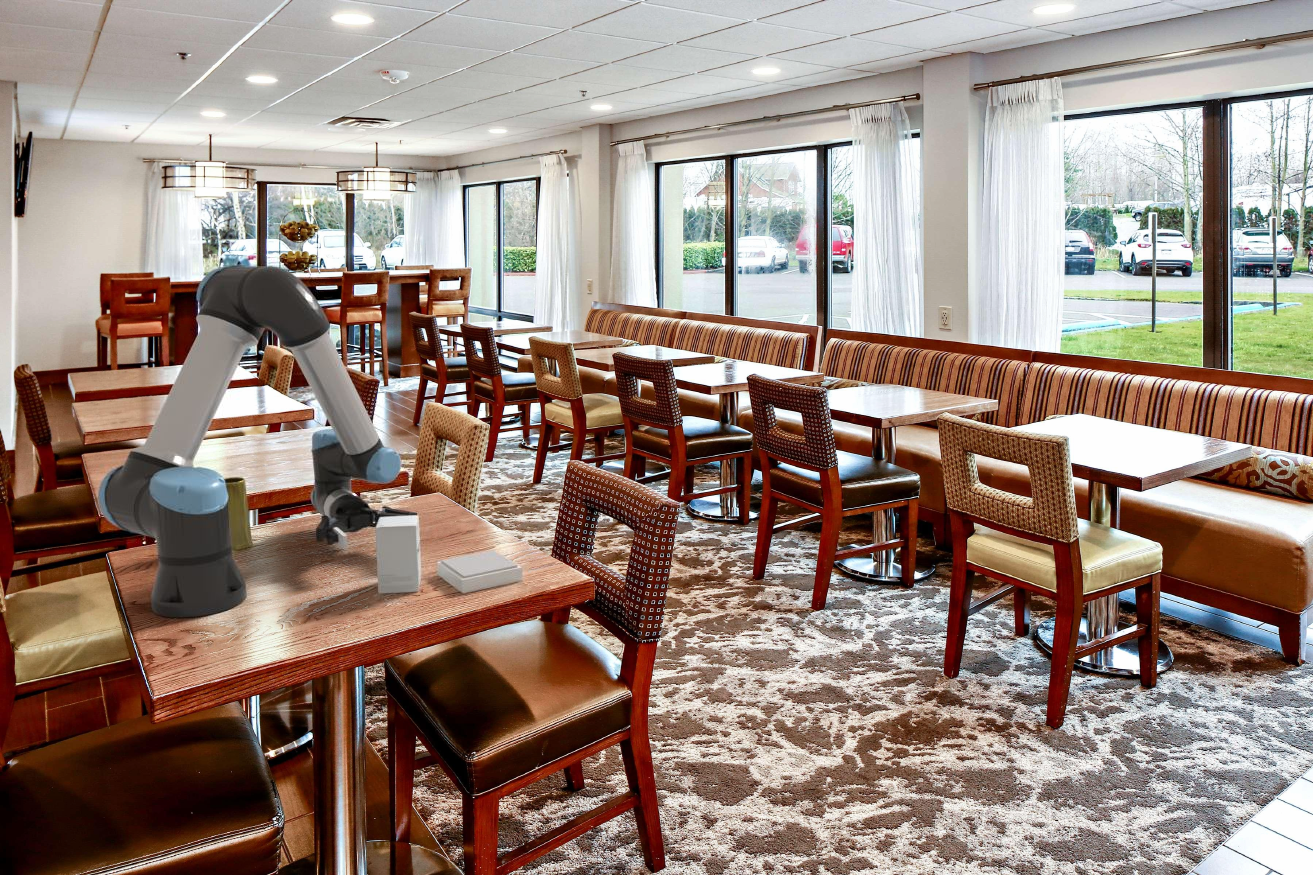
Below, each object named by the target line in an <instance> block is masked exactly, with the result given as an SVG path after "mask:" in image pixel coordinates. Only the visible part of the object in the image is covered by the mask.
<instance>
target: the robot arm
mask: <svg viewBox="0 0 1313 875" xmlns="http://www.w3.org/2000/svg"><path fill="white" fill-rule="evenodd" d="M196 301H198V304H197V307H198V310H199V311H198V313H197V315H196V318H195V319H196V322H197V325H198V326H199V331H198V334H197V336H196V337H195V340H194V342H193V344H192V346H191V347H190V350H189V352H188V354H187V356H186V358H185V360H184V363H183V364H182V366H181V368H180V370H179V372H178V375H177V377H176V378H175V381H174V383H173V385H172V387H171V389H170V391H169V393H168V395H167V397H166V399H165V402H164V403H163V406H162V408H161V410H160V412H159V414H158V415H157V417H156V419H155V422H154V424H153V425H152V428H151V430H150V432H149V434H148V436H147V438H146V440H145V443H144V444H142V445H140V446H138V447H135V448H132V449H130V452H129V453H128V456H127V458H126V459H125V462H124V464H123V465H120V466H118V467H116V468H114V469H112V470H111V471H109V472H108V473H107V474H106V475H105V476H104V478H103V479H102V481H101V483H100V485H99V487H98V492H97V501H98V506H99V509H100V511H101V513H102V516H103V517H104V518H105V519H106V520H107V521H108V522H109V523H111V524H112V525H114V527H117V528H119V529H121V530H123V531H127V532H129V533H131V534H139V535H142V536H146V537H150V538H152V539H155V541H156V549H157V550H156V551H157V557H158V558H157V560H158V568H157V570H156V571H157V572H156V575H155V579H154V583H153V587H152V591H151V595H150V603H151V610H152V612H153V613H154V614H156V615H158V616H162V617H167V618H175V619H176V618H179V619H180V618H193V617H194V618H195V617H202V616H207V615H212V614H217V613H221V612H224V611H226V610H230V609H232V608H235V607H236V606H238V605H240V604H241V603H243V602H244V601H245V600H246V599H247V597H248V595H247V584H246V581H245V579H244V577H243V575H242V573H241V570H240V568H239V566H238V563H237V562H236V560H235V557H234V556H233V550H232V546H231V534H230V522H229V510H228V492H227V489H226V484H225V480H224V477H223V475H222V474H220V472H218V471H216V470H214V469H211V468H207V467H201V466H198V467H195V466H194V460H195V458H196V456H197V454H198V452H199V450H200V447H201V446H202V443H203V441H204V438H205V437H206V435H207V432H208V430H209V428H210V426H211V424H212V421H213V420H214V417H215V415H216V413H217V411H218V408H219V407H220V405H221V402H222V400H223V398H224V396H225V394H226V392H227V390H228V387H229V385H230V383H231V381H232V379H233V377H234V375H235V373H236V370H237V368H238V366H239V364H240V362H241V359H242V357H243V355H244V353H245V351H246V349H248V348H249V349H250V348H252V347H255V346H257V345H258V344H259V341H260V339H261V337H262V335H263V333H264V331H265V329H268V330H270V331H271V332H273V334H275V335H276V337H277V339H278V340H279V342H280V344H281V346H282V347H283V348H284V349H288V350H290V351H291V352H292V355H293V357H294V359H295V361H296V363H297V364H298V367H299V368H300V369H301V372H302V374H303V375H304V378H305V379H306V381H307V383H308V385H309V387H310V388H311V391H312V393H313V394H314V397H315V399H316V400H317V402H318V404H319V406H320V407H321V410H322V412H323V414H324V416H325V418H326V419H327V421H328V423H329V425H330V427H331V428H328V429H327V428H326V429H320V430H317V431H315V432H313V434H312V436H311V450H310V451H311V455H312V465H313V477H314V481H313V482H314V483H313V484H314V486H313V488H312V490H311V493H310V500H311V504H312V505H313V507H314V509H315V510H316V511H317V512H318V514H320V515H322V516H321V520H320V522H319V524H318V525H317V526H316V528H315V539H316V542H318V543H321V542H323V541H324V540H326V545H328V546H329V545H334V544H337V545H338V546H339V547H340V548H341V549H343V551H346V550H349V540H348V539H349V538H348V534H346V533H352V534H353V533H356V532H359V531H361V530H363V529H365V528H376V525H377V523H378V520H379V518H380V517H391V516H411V515H418V513H417V512H415V511H408V510H405V509H404V510H403V509H397V508H391V507H389V506H387V505H384V506H383V505H382V507H381V510H380V509H374V508H373V509H372V508H371V506H370V505H369V504H368V503H367V501H366V500H365V499H363V498H361V497H360V496H359V495H357V494H356V493H354V492H352V479H355V480H360V481H363V482H368V483H371V484H389V483H392V482H393V481H394V480H396V479H397V477H398V475H399V474H400V473H401V472H400V471H401V468H402V459H401V456H400V454H399V453H398V451H396V450H395V449H393V448H390V447H387V446H385V445H384V444H383V442H382V439H381V438H380V436H379V434H378V431H377V430H376V428H375V426H374V424H373V422H372V420H371V418H370V415H369V413H368V412H367V410H366V409H367V408H365V405H364V403H363V401H362V399H361V397H360V394H359V393H358V390H357V389H356V387H355V385H354V383H353V381H352V379H351V377H350V375H349V373H348V370H347V368H346V366H345V364H344V362H343V360H342V358H341V357H340V354H339V353H338V350H337V348H336V346H335V344H334V342H333V340H332V338H331V335H330V334H329V333H330V330H331V327H332V326H331V324H330V322H329V320H328V318H327V315H326V313H325V312H324V309H323V308H322V306H321V304H320V303H319V302H318V300H317V299H316V296H314V295H313V293H312V292H311V290H310V288H308V287H307V285H305V283H304V282H303V281H302V280H301V279H300V278H298V277H297V276H296V275H295V274H294V273H292V272H290V271H288V270H287V269H284V268H281V267H279V266H274V265H273V266H271V265H269V266H267V265H266V266H264V265H263V266H254V265H253V266H252V265H251V266H250V265H248V266H247V265H241V264H230V265H227V266H220V267H217V268H214V269H213V270H211V271H209V272H208V273H206V274H205V276H204V277H203V278H202V280H201V281H200V283H199V284H198V287H197V292H196Z"/></svg>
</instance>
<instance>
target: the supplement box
mask: <svg viewBox="0 0 1313 875" xmlns="http://www.w3.org/2000/svg"><path fill="white" fill-rule="evenodd" d="M419 517H420V516H419V515H418V514H417V515H411V516H391V517H380V518H379V520H378V523H377V525H376V527H374V528H375V529H374V530H375V532H374V533H375V552H376V569H377V588H378V590H377V591H378V594H396V593H397V594H398V593H401V594H402V593H413V592H414V593H415V592H419V590H420V583H421V580H422V563H421V562H422V560H421V559H422V558H421V538H420V535H421V534H420V520H419V519H420V518H419Z"/></svg>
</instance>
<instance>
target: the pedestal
mask: <svg viewBox="0 0 1313 875" xmlns="http://www.w3.org/2000/svg"><path fill="white" fill-rule="evenodd" d="M436 566H437V567H436V569H437V571H436V572H437V573H436V574H437V576H438V577H440V578H441V579H443V580H444V581H445V582H447V583H448V584H450V585H451V586H452V587H453V588H455V590H458V591H459V592H460V593H461V594H467V593H471V592H476V591H480V590H485V589H489V588H495V587H498V586H504V585H508V584H513V583H518V582H522V581H523V567H522V566H521V565H519V564H518V563H516V562H514V561H512V560H510V559H509V558H507V557H506V556H504V555H502V554H501V553H500V552H498V551H496V550H494V549H491V550H486V551H482V552H477V553H471V554H465V555H460V556H456V557H451V558H446V559H441V560H440V561H436Z"/></svg>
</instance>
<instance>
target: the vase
mask: <svg viewBox="0 0 1313 875" xmlns="http://www.w3.org/2000/svg"><path fill="white" fill-rule="evenodd" d="M223 478H224V477H223ZM224 480H225V484H226V489H227V492H228V510H229V522H230V534H231V546H232V551H240V550H245V548H246V549H249V548H250V547H252V546H253V545H254V542H253V540H252V539H253V537H252V530H251V522H250V513H249V505H248V504H249V503H248V497H247V486H246V485H247V484H246V479H245V478H244V477H239V476H233V477H232V476H231V477H226V478H224ZM248 547H249V548H248Z"/></svg>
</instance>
